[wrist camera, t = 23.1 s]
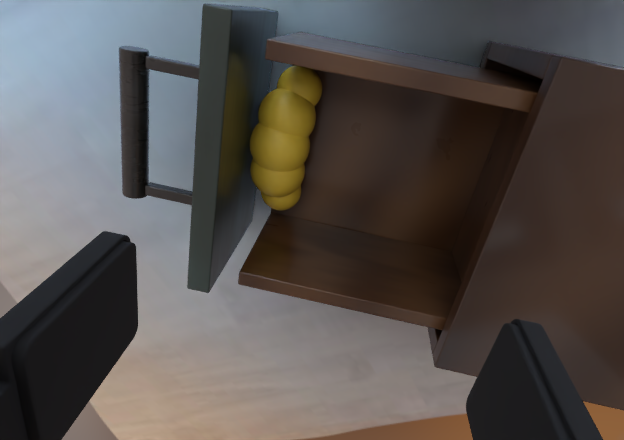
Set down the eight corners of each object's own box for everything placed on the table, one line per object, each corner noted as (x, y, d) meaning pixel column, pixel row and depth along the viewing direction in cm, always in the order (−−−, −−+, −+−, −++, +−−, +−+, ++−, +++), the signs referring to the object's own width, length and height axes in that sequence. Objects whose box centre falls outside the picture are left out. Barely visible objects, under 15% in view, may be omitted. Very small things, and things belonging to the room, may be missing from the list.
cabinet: (415, 258, 31) (434, 367, 21) (488, 40, 25) (561, 56, 15) (649, 309, 30) (777, 446, 21) (788, 99, 24) (1071, 156, 14)
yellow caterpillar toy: (291, 231, 25) (234, 218, 25) (299, 204, 28) (248, 193, 28) (323, 77, 21) (255, 62, 21) (327, 67, 24) (269, 54, 24)
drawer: (161, 201, 31) (86, 266, 23) (165, -11, 25) (66, -25, 17) (452, 265, 30) (481, 355, 22) (531, 61, 24) (609, 83, 16)
